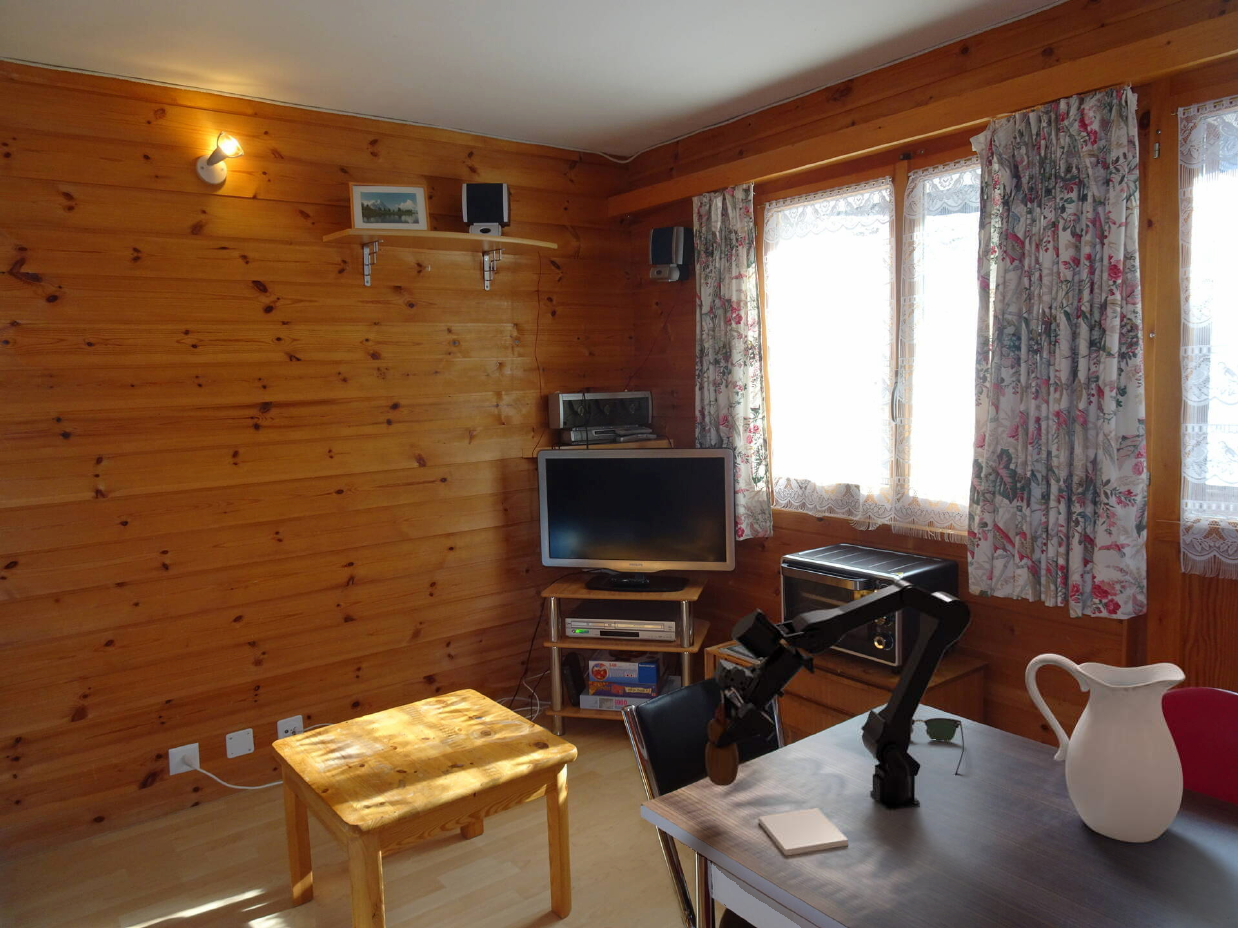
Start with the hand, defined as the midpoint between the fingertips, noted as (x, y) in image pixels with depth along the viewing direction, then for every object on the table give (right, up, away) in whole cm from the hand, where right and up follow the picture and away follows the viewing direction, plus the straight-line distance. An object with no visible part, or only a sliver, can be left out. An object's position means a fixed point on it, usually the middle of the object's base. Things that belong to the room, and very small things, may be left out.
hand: (713, 740), depth 153 cm
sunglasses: (+45, -11, +23) cm, 52 cm away
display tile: (+14, -14, -6) cm, 21 cm away
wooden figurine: (+2, -8, +1) cm, 8 cm away
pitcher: (+65, -12, -4) cm, 66 cm away
